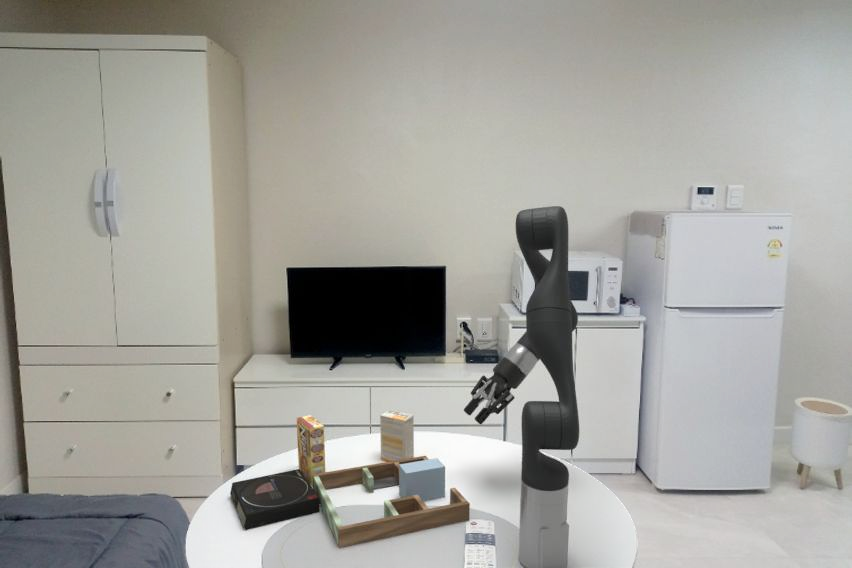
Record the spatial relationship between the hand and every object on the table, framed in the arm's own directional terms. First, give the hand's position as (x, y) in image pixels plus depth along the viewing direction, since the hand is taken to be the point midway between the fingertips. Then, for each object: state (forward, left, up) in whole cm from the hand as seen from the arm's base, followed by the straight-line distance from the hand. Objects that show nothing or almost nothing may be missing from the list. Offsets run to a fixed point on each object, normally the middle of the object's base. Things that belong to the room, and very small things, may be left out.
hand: (472, 417), depth 153 cm
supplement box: (+21, +12, -19) cm, 30 cm away
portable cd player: (+9, +47, -19) cm, 52 cm away
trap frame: (-1, +22, -18) cm, 29 cm away
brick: (0, +13, -18) cm, 23 cm away
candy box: (+19, +36, -19) cm, 45 cm away
